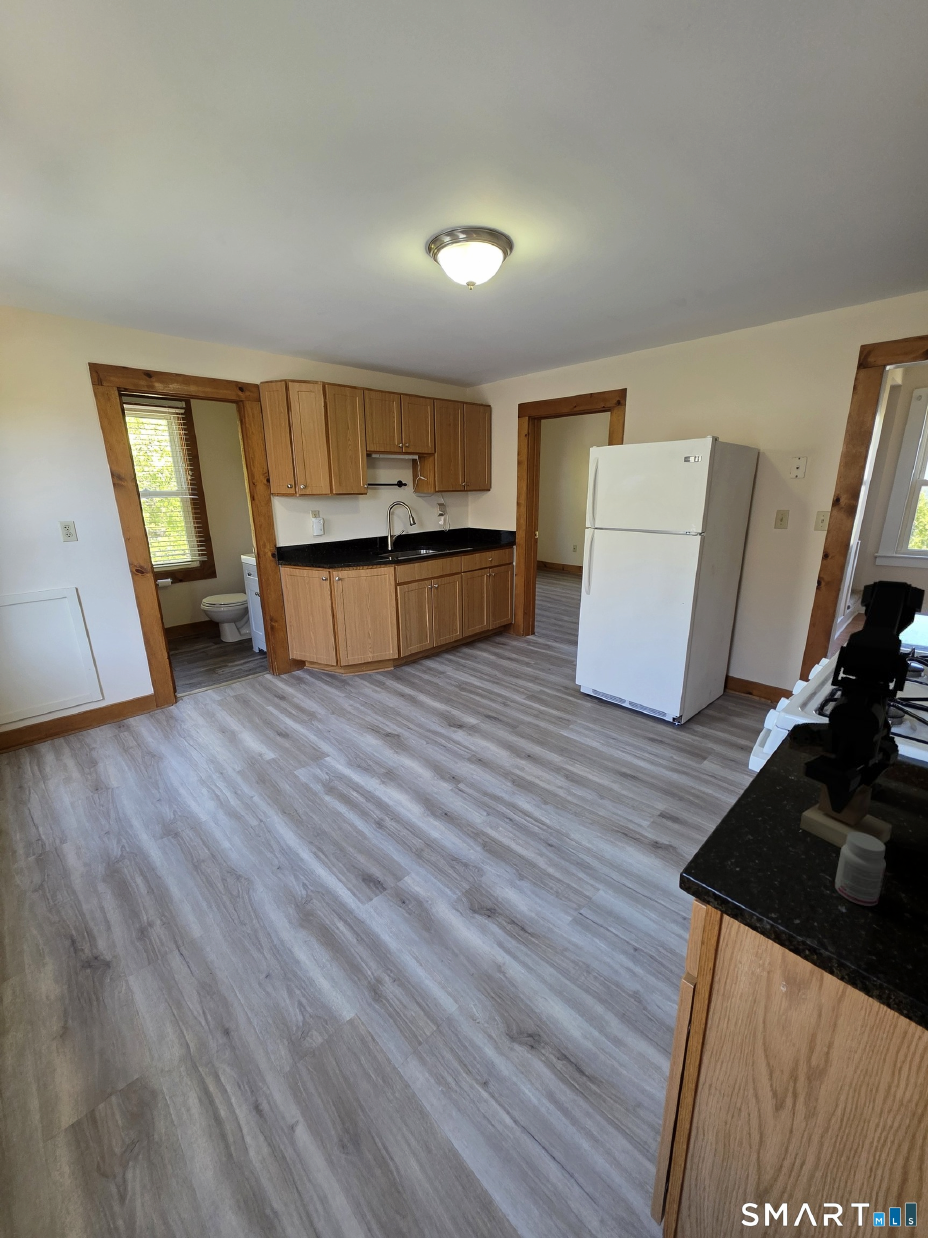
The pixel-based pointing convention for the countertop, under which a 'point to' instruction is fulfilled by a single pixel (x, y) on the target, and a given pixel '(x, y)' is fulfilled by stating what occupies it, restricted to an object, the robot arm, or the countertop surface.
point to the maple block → (842, 827)
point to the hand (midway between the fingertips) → (843, 807)
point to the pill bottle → (861, 869)
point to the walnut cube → (853, 810)
